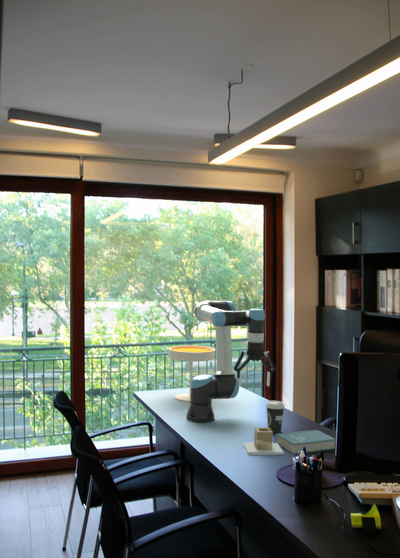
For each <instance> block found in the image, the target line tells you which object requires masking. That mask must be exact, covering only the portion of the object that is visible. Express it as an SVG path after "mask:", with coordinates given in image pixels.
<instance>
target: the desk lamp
mask: <svg viewBox="0 0 400 558" xmlns="http://www.w3.org/2000/svg"><path fill="white" fill-rule="evenodd" d="M167 353H168V355H167V358H169V359H170V360H176V361H183V362H190V365H189V368H190V369H189V393H188V392H187V393H179V394H176V395H175V396H174V399H175V400H177V401H179V402H185V403H186V402H187V403H190V394H191V387H190V385H191V379H192V378H193V362H207V361H213V360H214V359H215V358H216V348H214V347H210V346H205V345H174V346H170V347H168V352H167Z"/></svg>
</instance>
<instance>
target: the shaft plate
mask: <svg viewBox="0 0 400 558" xmlns="http://www.w3.org/2000/svg"><path fill="white" fill-rule="evenodd" d="M242 444H243V448H244V450H245V452H246V454H247V455H248V456H279V455H280V456H283V455H285V454H284V450H283V449H282V447H281V446H279V444H278V443H275V442H272V450H257V449H256V447H255V446H254V442H243V443H242Z"/></svg>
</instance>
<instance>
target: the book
mask: <svg viewBox="0 0 400 558" xmlns="http://www.w3.org/2000/svg"><path fill="white" fill-rule="evenodd" d="M336 441H337V439H336V438H334V437H332V436H331V435H328V434H327V433H325V432H322V431H320V430H318V429H311V430H301V431H292V432H290V431H289V432H281V433H280V434H274V443H278V444H279V446H280V448H283V449H284V450H285V451H288V452H289V453H290V454H293V455H296V454H298V453H297V452H298V451H300V450H302V449H303V447H304V446H305V447H306V452H305V453H313V452H320V451H321V450H322V451H329V450H335V449H336V446H335V442H336Z"/></svg>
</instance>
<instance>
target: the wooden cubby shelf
mask: <svg viewBox="0 0 400 558" xmlns="http://www.w3.org/2000/svg"><path fill="white" fill-rule="evenodd" d="M273 435H274V434H273V432H272V430H271V428H268V427H258V426H257V427H254V435H253V436H254V437H253V439H254V440H253V443H254V446H255V447H256V449H257V450H272V443H273V437H274V436H273Z"/></svg>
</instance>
